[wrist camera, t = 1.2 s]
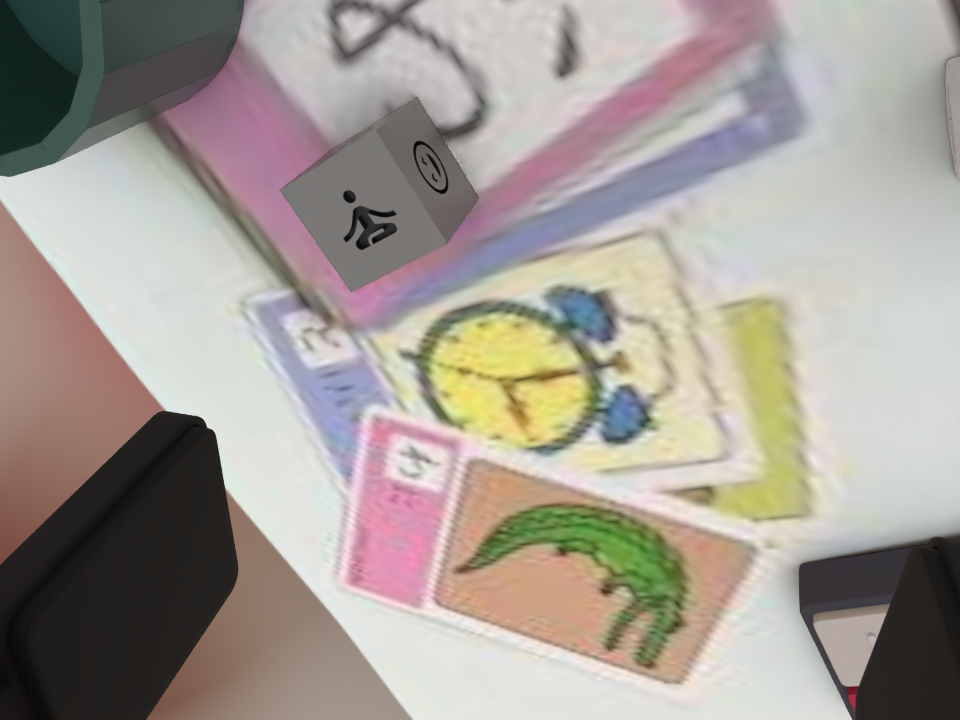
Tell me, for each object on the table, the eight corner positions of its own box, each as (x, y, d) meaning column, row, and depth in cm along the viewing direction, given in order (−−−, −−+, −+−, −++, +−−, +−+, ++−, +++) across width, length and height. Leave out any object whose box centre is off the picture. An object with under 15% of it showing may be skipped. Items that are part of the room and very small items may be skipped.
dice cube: (391, 244, 39) (351, 292, 35) (329, 151, 37) (279, 190, 33) (478, 198, 36) (447, 243, 32) (416, 96, 35) (375, 130, 31)
